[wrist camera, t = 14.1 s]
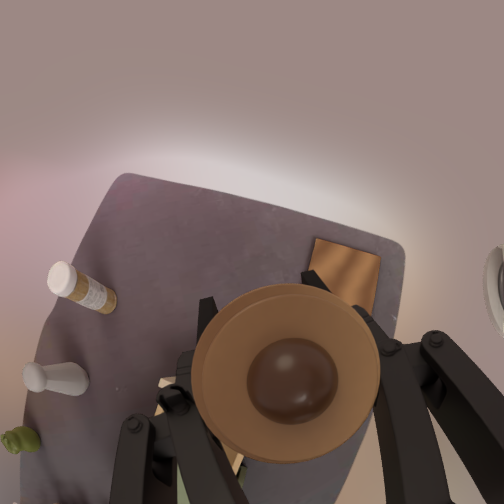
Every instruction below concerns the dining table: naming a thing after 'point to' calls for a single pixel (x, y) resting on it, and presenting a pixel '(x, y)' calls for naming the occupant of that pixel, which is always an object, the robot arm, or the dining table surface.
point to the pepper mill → (285, 373)
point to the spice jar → (80, 288)
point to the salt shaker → (56, 378)
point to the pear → (21, 440)
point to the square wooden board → (347, 272)
